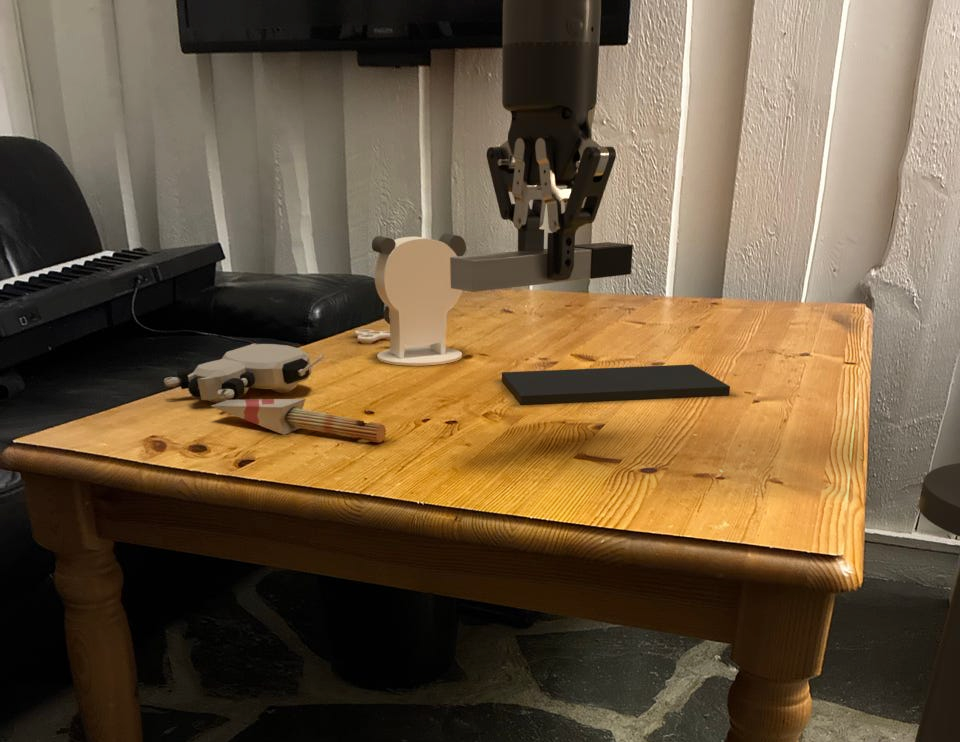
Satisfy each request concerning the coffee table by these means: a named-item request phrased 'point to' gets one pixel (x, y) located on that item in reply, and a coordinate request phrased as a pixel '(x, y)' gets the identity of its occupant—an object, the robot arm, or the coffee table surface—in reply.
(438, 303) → the panda figurine
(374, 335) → the fidget spinner
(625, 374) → the mat
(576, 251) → the black-tipped grey bar
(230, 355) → the robot toy
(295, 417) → the paintbrush
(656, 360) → the coffee table surface
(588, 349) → the coffee table surface
